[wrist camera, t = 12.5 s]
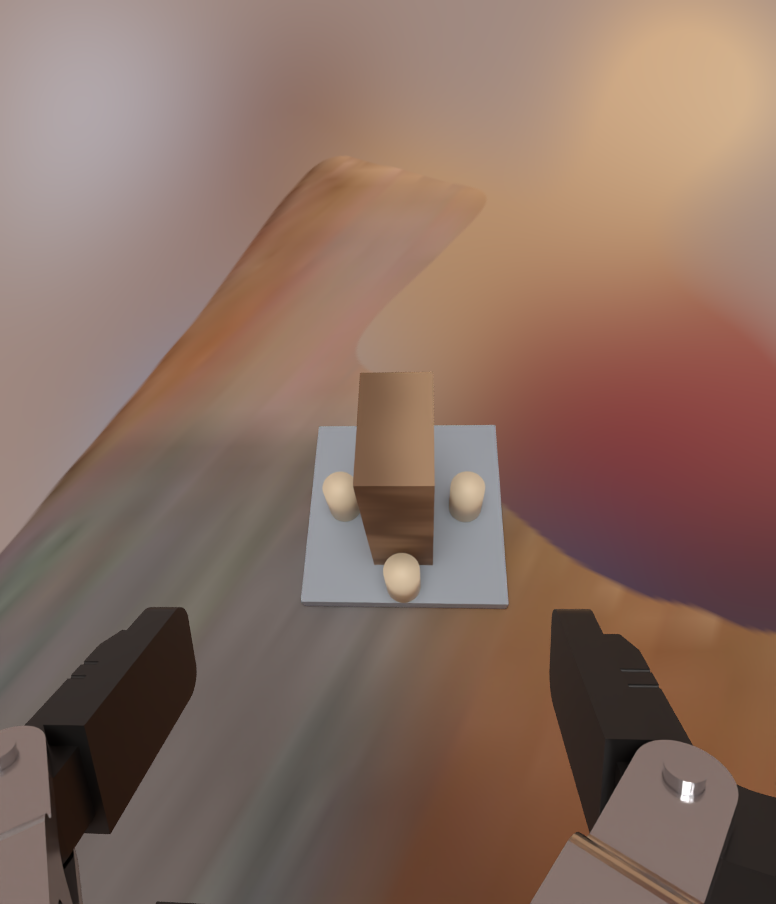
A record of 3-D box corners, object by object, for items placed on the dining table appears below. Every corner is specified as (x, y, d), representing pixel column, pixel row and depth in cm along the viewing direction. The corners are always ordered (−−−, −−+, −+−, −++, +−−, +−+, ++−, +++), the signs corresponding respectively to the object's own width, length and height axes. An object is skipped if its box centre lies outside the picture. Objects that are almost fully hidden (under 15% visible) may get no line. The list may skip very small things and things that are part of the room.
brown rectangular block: (432, 475, 36) (433, 371, 27) (432, 565, 33) (434, 485, 24) (378, 475, 37) (360, 373, 27) (374, 564, 34) (352, 486, 24)
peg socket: (493, 432, 39) (500, 400, 35) (506, 608, 33) (515, 590, 29) (321, 433, 40) (311, 402, 36) (304, 605, 34) (290, 587, 30)
